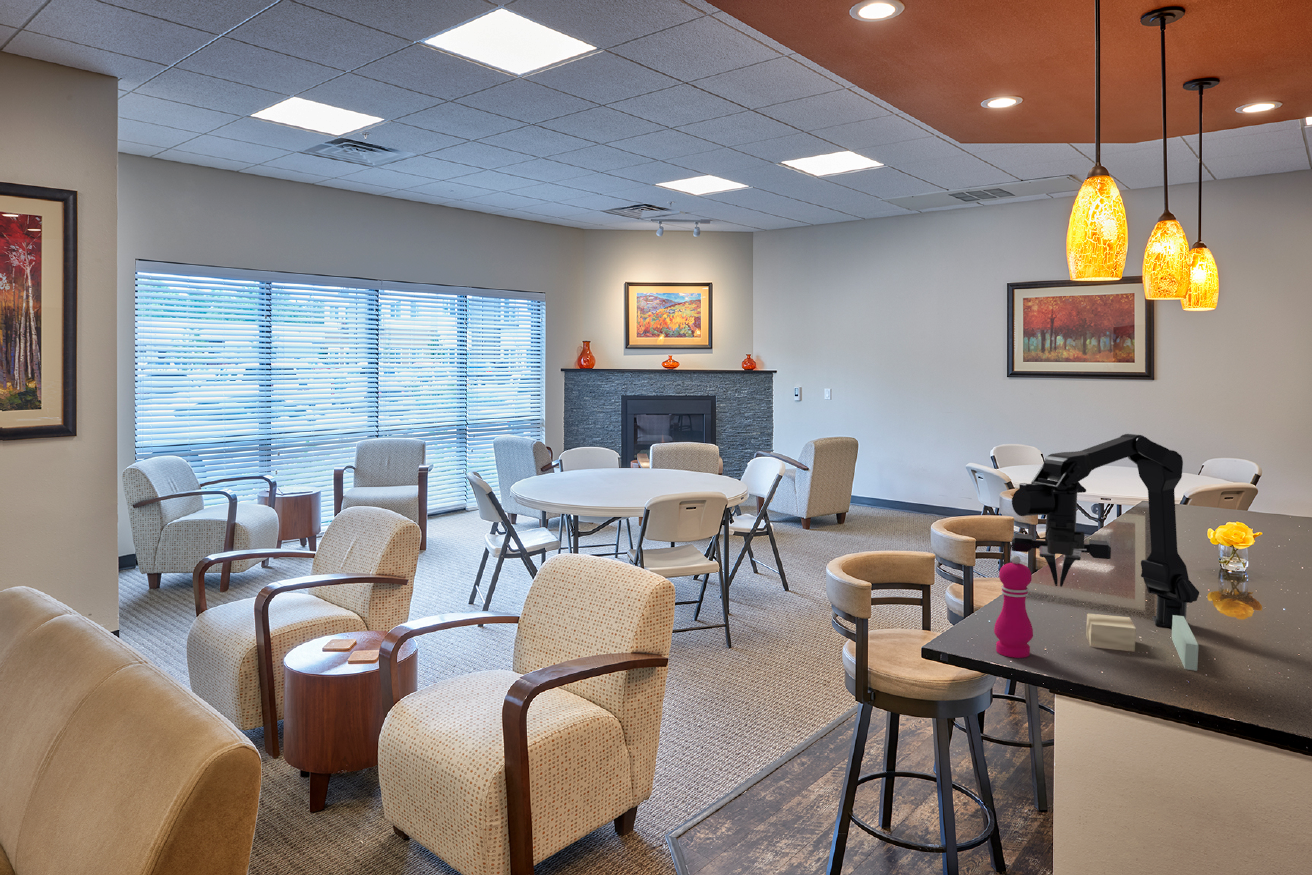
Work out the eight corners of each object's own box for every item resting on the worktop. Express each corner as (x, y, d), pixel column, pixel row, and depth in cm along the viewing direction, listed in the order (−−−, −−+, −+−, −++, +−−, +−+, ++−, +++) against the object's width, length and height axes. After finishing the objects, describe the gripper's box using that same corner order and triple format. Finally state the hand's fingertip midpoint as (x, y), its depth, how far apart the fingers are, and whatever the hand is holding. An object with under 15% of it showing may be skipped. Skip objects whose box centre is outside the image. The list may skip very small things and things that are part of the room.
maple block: (1086, 635, 178) (1087, 613, 177) (1128, 640, 175) (1129, 617, 174) (1090, 647, 170) (1091, 624, 170) (1134, 652, 167) (1135, 628, 167)
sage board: (1171, 637, 175) (1172, 614, 175) (1182, 639, 174) (1183, 616, 174) (1184, 668, 157) (1186, 643, 157) (1197, 670, 156) (1198, 644, 156)
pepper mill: (1002, 644, 172) (1005, 549, 170) (1038, 652, 167) (1041, 555, 165) (987, 652, 167) (990, 555, 165) (1023, 661, 162) (1027, 561, 160)
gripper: (1011, 516, 171) (1009, 590, 173) (1113, 523, 163) (1110, 600, 164) (1014, 508, 181) (1011, 577, 183) (1110, 514, 173) (1107, 587, 174)
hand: (1058, 585), depth 176 cm, fingers closed
